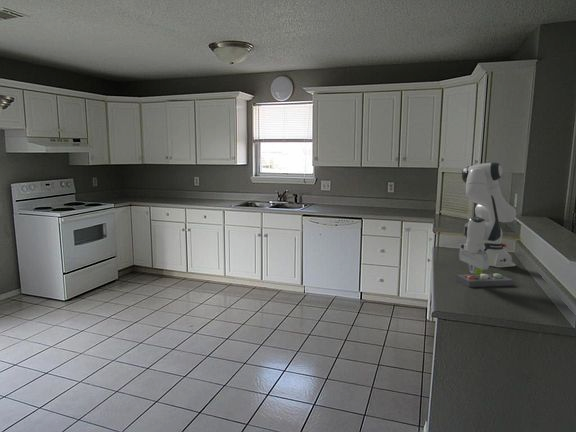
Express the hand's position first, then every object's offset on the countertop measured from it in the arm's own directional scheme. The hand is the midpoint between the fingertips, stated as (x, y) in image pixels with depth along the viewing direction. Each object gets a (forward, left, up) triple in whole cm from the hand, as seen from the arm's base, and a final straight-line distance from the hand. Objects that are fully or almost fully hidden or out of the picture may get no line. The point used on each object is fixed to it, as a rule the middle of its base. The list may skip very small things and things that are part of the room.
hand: (472, 273), depth 221 cm
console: (-7, 0, -6) cm, 9 cm away
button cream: (-7, 0, -4) cm, 8 cm away
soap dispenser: (-16, -18, -6) cm, 25 cm away
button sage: (-15, 0, -4) cm, 16 cm away
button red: (+1, 0, -5) cm, 5 cm away
